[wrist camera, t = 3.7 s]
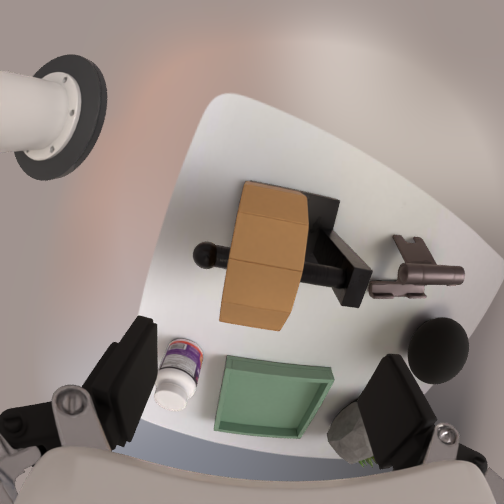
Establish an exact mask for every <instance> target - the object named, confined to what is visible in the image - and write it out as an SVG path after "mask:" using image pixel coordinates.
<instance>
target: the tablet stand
mask: <svg viewBox="0 0 504 504" xmlns="http://www.w3.org/2000/svg"><path fill="white" fill-rule="evenodd" d="M393 239H394V241H395V243H396V245H397V247H398V249H399V251H400V253H401V255H402V257H403V259H404V261H405V263H402V264H401V265H400V267H399V270H398V278H397V281H395V282H390V281H379V280H377V281H371V282H370V283H369V287H368V292H369V295H370V296H371V297H372V298H373V299H393V297H408V298H426V295H425V294H424V286H425V285H446V286H456V285H460V284H462V283H463V281H464V278H465V271H464V269H463V268H462V267H461V266H447V265H437V264H436V262H435V260H434V258H433V257H432V255H431V253H430V251H429V250H428V248H427V246H426V244H425V243H424V241H423V239H422V238H419V237H414V238H413V239H414V241H415V243H408V242H406V241H405V240H404V239H403V237H402V236H401V235H394V236H393Z"/></svg>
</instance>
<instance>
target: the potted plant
mask: <svg viewBox="0 0 504 504" xmlns="http://www.w3.org/2000/svg"><path fill="white" fill-rule="evenodd" d="M327 437H328V442H329V443H330V445H331V446H332V447H333V449H334V450H335V451H336V453H337V454H338V455H339V456H340V457H341V458H343V459H344V460H346V461H347V462H349V463H350V464H353V463H356V462H359V463H360V464H361V465H362V466H363V463H364V464H366V463H365V460H366V461H367V462H368V463H369V464H370V465H371V466H372V467H373V465H372V461H371V458H372V459H373V460H374V462H375V459H374V456H373V453H372V449H371V446H370V443H369V439H368V436H367V433H366V430H365V427H364V423H363V420H362V417H361V414H360V411H359V408H358V402H353V403H351V404H350V405H349V406H347V407H346V408H344V409H343V410H342V411H341V412H340V413H339V414H338V416H337V417H336V418H335V419H334V421H333V423H332V425H331V427H330V429H329V431H328V433H327ZM364 459H365V460H364ZM362 462H363V463H362ZM375 463H376V462H375ZM376 464H377V463H376ZM363 467H364V466H363Z"/></svg>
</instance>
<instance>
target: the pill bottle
mask: <svg viewBox="0 0 504 504" xmlns="http://www.w3.org/2000/svg"><path fill="white" fill-rule="evenodd" d="M202 361H203V352H202V350H201V348H200V347H199V346H198V345H197V344H196V343H194V342H192V341H190V340H187V339H176V340H174V341H172V342H171V343H170V344H169V345H168V347H167V349H166V352H165V354H164V356H163V359H162V361H161V364H160V366H159V368H158V375H157V379H156V382H155V385H156V387H157V388H156V391H155V394H154V399H155V401H156V403H157V404H158V405H160V406H161V407H163V408H164V409H167V410H171V411H180V410H183V409H184V408H185V407H186V404H187V400H188V398H190V397H192V396H193V394H194V393H195V390H196V387H197V382H198V378H199V374H200V369H201V365H202Z"/></svg>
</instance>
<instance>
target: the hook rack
mask: <svg viewBox="0 0 504 504" xmlns="http://www.w3.org/2000/svg"><path fill="white" fill-rule="evenodd" d="M250 182H255V183H260V184H265V185H270V186H275V187H280V188H285V189H289V190H294V191H298V192H301V193H302V194H303V195H305V196H306V197H307V206H308V222H309V225H308V227H309V228H308V236H307V244H306V252H305V259H304V266H303V271H302V276H301V280H300V282H302V283H308V284H314V285H320V286H326V287H332V289H333V291H334V293H335V295H336V297H337V299H338V300H339V302H340V304H341V306H347V307H355V308H359V307H360V304H361V302H362V299H363V297H364V294H365V291H366V289H367V286H368V283H369V280H370V277H371V275H372V272H373V271H372V270H371V269H370V267H369V266H368V265H367V264H366V263H365V262H364V261H363V260H362V259H361V258H360V257H359V256H358V255H357V254H356V253H355V252H354V251H353V250H352V249H351V248H350V247H349V246H348V245H347V244H346V243H345V242H344V241H343V240H342V239H341V238H340V237H339V236H338V235H337V234H336V233H335V232H334V231H333V227H334V223H335V219H336V215H337V211H338V207H339V203H340V201H339V200H338V199H334V198H330V197H326V196H322V195H317V194H313V193H309V192H304V191H300V190H295V189H291V188H286V187H281V186H277V185H272V184H267V183H262V182H256V181H251V180H250ZM229 253H230V247H225V246H219V245H215V244H214V243H212V242H207V241H205V242H201V243H199V244H198V245H197V246H196V247H195V249H194V251H193V259H194V262H195V263H196V264H197V265H198V266H199V267H200V268H203V269H210V268H213V267H218V268H223V269H227V265H228V259H229Z"/></svg>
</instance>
